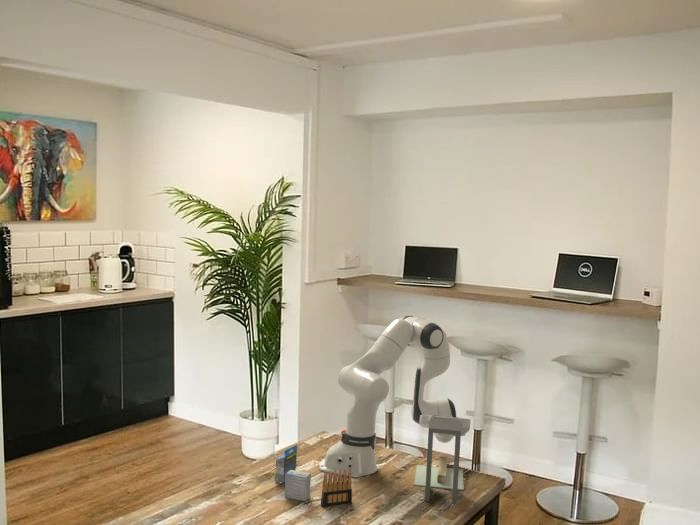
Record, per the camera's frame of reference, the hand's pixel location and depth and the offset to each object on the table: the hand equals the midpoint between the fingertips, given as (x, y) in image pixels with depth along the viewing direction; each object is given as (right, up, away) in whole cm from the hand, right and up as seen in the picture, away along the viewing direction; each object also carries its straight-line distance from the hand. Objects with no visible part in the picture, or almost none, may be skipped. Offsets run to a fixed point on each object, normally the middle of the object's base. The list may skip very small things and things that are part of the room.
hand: (445, 418), depth 267 cm
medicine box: (-56, -20, -32) cm, 67 cm away
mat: (-3, -21, -8) cm, 23 cm away
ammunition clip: (-42, -21, -36) cm, 59 cm away
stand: (-5, -22, -25) cm, 34 cm away
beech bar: (-2, -20, -5) cm, 21 cm away
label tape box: (-61, -19, -16) cm, 66 cm away
